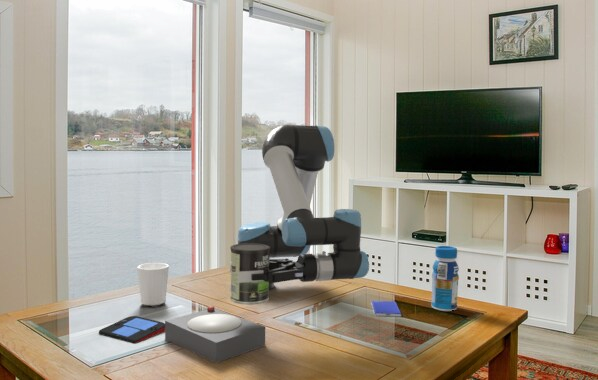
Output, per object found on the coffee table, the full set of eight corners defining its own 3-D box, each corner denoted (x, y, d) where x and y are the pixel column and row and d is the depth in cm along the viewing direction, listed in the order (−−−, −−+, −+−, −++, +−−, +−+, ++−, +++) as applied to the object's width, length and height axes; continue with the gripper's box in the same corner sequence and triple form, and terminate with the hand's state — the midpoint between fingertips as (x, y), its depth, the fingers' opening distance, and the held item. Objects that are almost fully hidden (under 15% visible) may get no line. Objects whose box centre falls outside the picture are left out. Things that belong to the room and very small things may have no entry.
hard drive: (371, 300, 175) (375, 312, 162) (396, 301, 174) (401, 313, 162) (371, 305, 175) (374, 317, 162) (395, 306, 174) (401, 318, 162)
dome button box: (165, 338, 140) (165, 316, 139) (213, 324, 151) (213, 304, 151) (216, 363, 125) (216, 338, 124) (265, 345, 136) (265, 322, 136)
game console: (97, 335, 143) (97, 327, 143) (132, 321, 154) (132, 314, 154) (135, 345, 136) (135, 337, 136) (169, 331, 147) (169, 323, 147)
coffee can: (276, 297, 141) (277, 245, 139) (254, 307, 132) (254, 252, 131) (245, 291, 146) (246, 241, 145) (222, 300, 137) (222, 247, 136)
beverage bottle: (425, 305, 174) (427, 245, 172) (447, 303, 177) (450, 244, 175) (440, 312, 166) (442, 250, 164) (462, 310, 169) (465, 249, 167)
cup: (139, 310, 163) (139, 270, 162) (135, 301, 172) (135, 263, 171) (171, 307, 167) (171, 267, 166) (166, 298, 176) (166, 261, 175)
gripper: (301, 246, 154) (226, 249, 147) (329, 263, 133) (243, 267, 126) (300, 271, 155) (226, 275, 148) (328, 291, 133) (242, 298, 127)
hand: (233, 272), depth 137 cm, fingers closed on coffee can, 10 cm apart
